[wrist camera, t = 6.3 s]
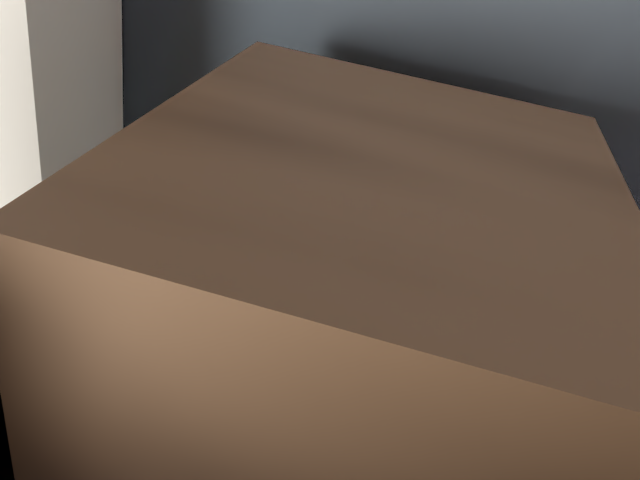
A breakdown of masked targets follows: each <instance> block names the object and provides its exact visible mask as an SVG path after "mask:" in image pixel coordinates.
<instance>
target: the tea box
mask: <svg viewBox="0 0 640 480" xmlns="http://www.w3.org/2000/svg"><path fill="white" fill-rule="evenodd" d="M0 393H1V399H2V405H3V412H4V418H5V424H6V430H7V436H8V442H9V448H10V454H11V460H12V466H13V472H14V478H15V480H640V210H639V208H638V206H637V204H636V202H635V200H634V198H633V196H632V194H631V192H630V190H629V188H628V186H627V183H626V181H625V179H624V177H623V175H622V173H621V171H620V169H619V167H618V165H617V163H616V161H615V159H614V157H613V155H612V152H611V150H610V148H609V146H608V144H607V142H606V140H605V138H604V136H603V134H602V132H601V130H600V128H599V126H598V124H597V122H596V119H595V118H594V117H590V116H585V115H581V114H577V113H572V112H568V111H563V110H559V109H554V108H550V107H546V106H541V105H537V104H532V103H528V102H523V101H519V100H514V99H510V98H506V97H501V96H497V95H492V94H488V93H483V92H479V91H475V90H470V89H466V88H461V87H457V86H452V85H448V84H444V83H439V82H435V81H430V80H426V79H421V78H417V77H413V76H408V75H404V74H399V73H395V72H390V71H386V70H382V69H377V68H373V67H368V66H364V65H359V64H355V63H351V62H346V61H342V60H337V59H333V58H328V57H324V56H319V55H315V54H311V53H306V52H302V51H297V50H293V49H288V48H284V47H280V46H275V45H271V44H266V43H262V42H256V43H254V44H253V45H251V46H250V47H248V48H247V49H245V50H243V51H242V52H240V53H239V54H237V55H236V56H234V57H233V58H231V59H230V60H228V61H227V62H225V63H223V64H222V65H220V66H219V67H217V68H216V69H214V70H213V71H211V72H210V73H208V74H206V75H205V76H203V77H202V78H200V79H199V80H197V81H196V82H194V83H193V84H191V85H190V86H188V87H186V88H185V89H183V90H182V91H180V92H179V93H177V94H176V95H174V96H173V97H171V98H170V99H168V100H166V101H165V102H163V103H162V104H160V105H159V106H157V107H156V108H154V109H153V110H151V111H150V112H148V113H146V114H145V115H143V116H142V117H140V118H139V119H137V120H136V121H134V122H133V123H131V124H130V125H128V126H126V127H125V128H123V129H122V130H120V131H119V132H117V133H116V134H114V135H113V136H111V137H110V138H108V139H106V140H105V141H103V142H102V143H100V144H99V145H97V146H96V147H94V148H93V149H91V150H90V151H88V152H86V153H85V154H83V155H82V156H80V157H79V158H77V159H76V160H74V161H73V162H71V163H70V164H68V165H66V166H65V167H63V168H62V169H60V170H59V171H57V172H56V173H54V174H53V175H51V176H50V177H48V178H46V179H45V180H43V181H42V182H40V183H39V184H37V185H36V186H34V187H33V188H31V189H30V190H28V191H26V192H25V193H23V194H22V195H20V196H19V197H17V198H16V199H14V200H13V201H11V202H9V203H8V204H6V205H5V206H3V207H2V208H0Z"/></svg>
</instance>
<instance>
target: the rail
mask: <svg viewBox="0 0 640 480" xmlns="http://www.w3.org/2000/svg"><path fill="white" fill-rule="evenodd" d="M122 129H123V69H122V0H0V208H2V207H3V206H5V205H6V204H8V203H9V202H11V201H13V200H14V199H16V198H17V197H19V196H20V195H22V194H23V193H25V192H26V191H28V190H30V189H31V188H33V187H34V186H36V185H37V184H39V183H40V182H42V181H43V180H45V179H46V178H48V177H50V176H51V175H53V174H54V173H56V172H57V171H59V170H60V169H62V168H63V167H65V166H66V165H68V164H70V163H71V162H73V161H74V160H76V159H77V158H79V157H80V156H82V155H83V154H85V153H86V152H88V151H90V150H91V149H93V148H94V147H96V146H97V145H99V144H100V143H102V142H103V141H105V140H106V139H108V138H110V137H111V136H113V135H114V134H116V133H117V132H119V131H120V130H122Z"/></svg>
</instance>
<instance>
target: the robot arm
mask: <svg viewBox="0 0 640 480" xmlns="http://www.w3.org/2000/svg"><path fill="white" fill-rule="evenodd" d="M0 480H15V478H14V472H13V466H12V460H11V454H10V448H9V442H8V436H7V430H6V424H5V418H4V412H3V405H2V399H1V393H0Z"/></svg>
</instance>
